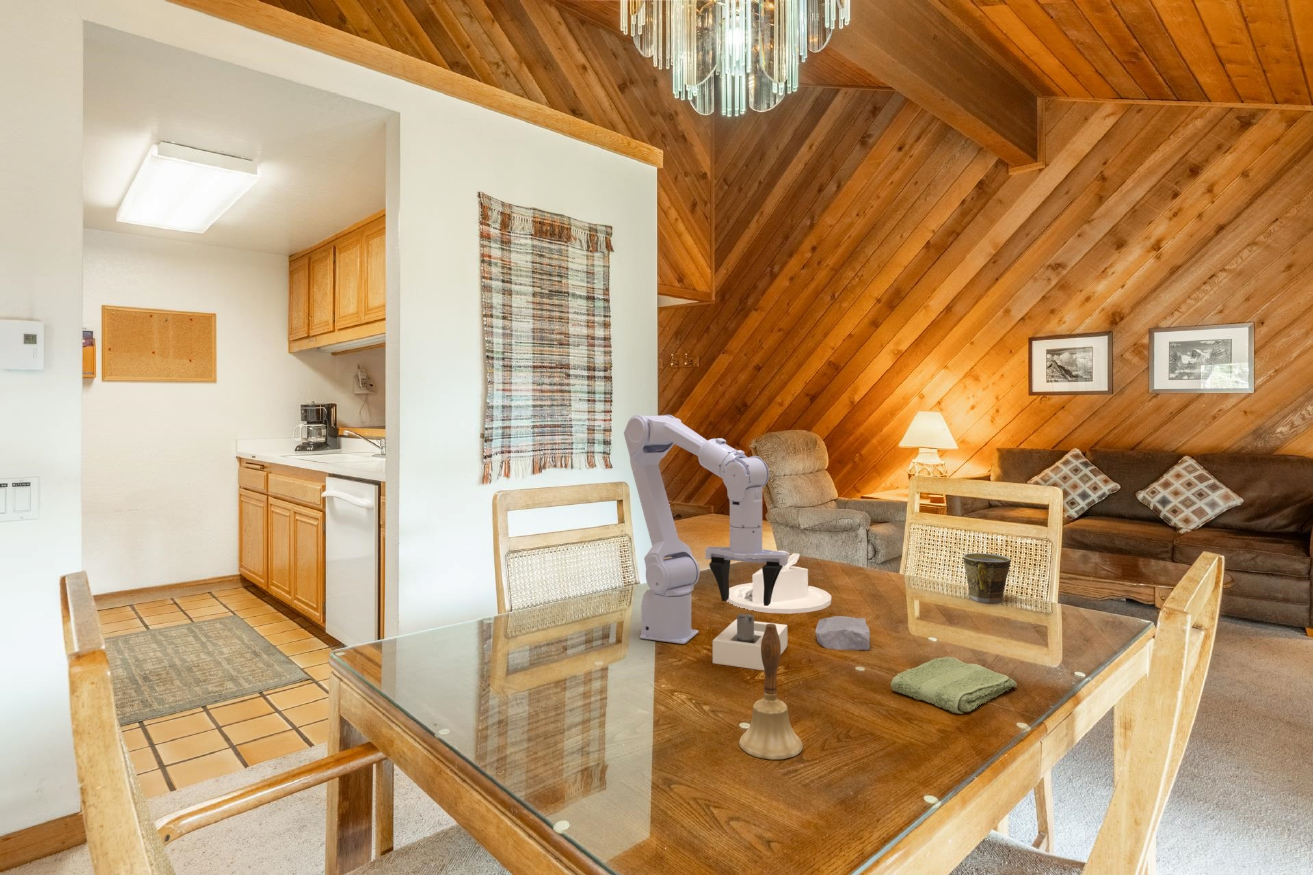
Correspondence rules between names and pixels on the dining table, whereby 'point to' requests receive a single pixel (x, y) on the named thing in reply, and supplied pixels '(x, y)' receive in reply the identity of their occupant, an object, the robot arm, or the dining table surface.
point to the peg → (745, 628)
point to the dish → (781, 592)
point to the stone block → (843, 633)
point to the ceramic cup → (986, 576)
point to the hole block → (744, 646)
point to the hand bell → (770, 711)
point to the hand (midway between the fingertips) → (745, 602)
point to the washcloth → (952, 684)
